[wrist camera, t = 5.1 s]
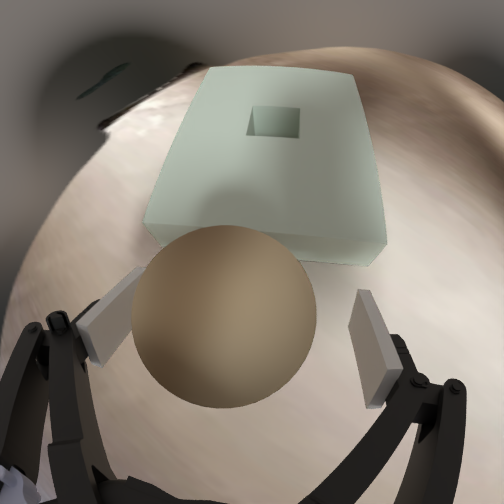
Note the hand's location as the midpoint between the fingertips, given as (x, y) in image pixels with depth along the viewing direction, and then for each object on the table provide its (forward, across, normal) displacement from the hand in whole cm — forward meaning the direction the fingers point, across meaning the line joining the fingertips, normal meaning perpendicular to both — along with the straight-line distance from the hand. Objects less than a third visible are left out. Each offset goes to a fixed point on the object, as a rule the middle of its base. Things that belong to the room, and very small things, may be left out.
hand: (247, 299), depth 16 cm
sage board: (+18, 0, +8) cm, 20 cm away
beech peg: (+4, 0, -7) cm, 8 cm away
